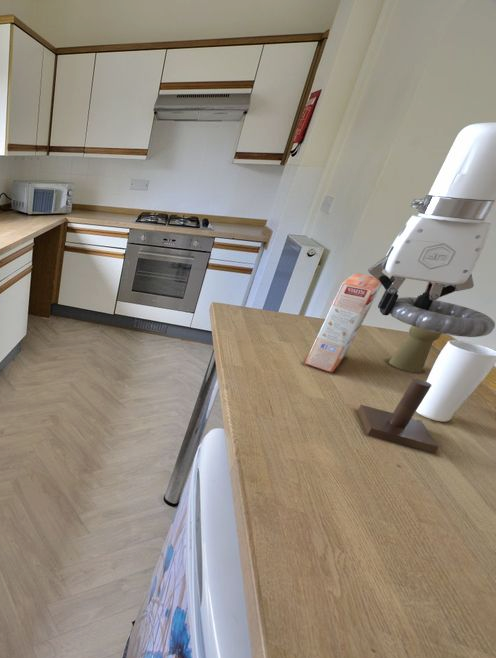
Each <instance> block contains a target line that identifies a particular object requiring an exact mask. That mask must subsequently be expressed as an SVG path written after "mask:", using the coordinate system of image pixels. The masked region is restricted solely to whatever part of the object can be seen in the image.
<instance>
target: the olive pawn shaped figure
mask: <svg viewBox="0 0 496 658" xmlns="http://www.w3.org/2000/svg"><path fill="white" fill-rule="evenodd" d="M408 329H409V330H408V334H409V336H408V337H407V338H406V339H405V340H404V342H403V343H402V344H401V345H400V347H399V348H398V349H397V351H396V352H395V353H394V354H393V356H391V358H390V360H389V361H388V363H389V365H391V366H392V367H395V368H397V369H400V370H402V371H405V372H409V373H416V374H417V373H422V372H423V370H424V366H425V364H426V361H427V359H428V356H429V353H430V350H431V348H432V346H433V343H434V342H435V341H437V340H438V339H439V338H440V337H441V335H442V333H437V332H433V331H429V330H425V329H421V328H418V327H415V326H412V325H410V327H409V328H408Z"/></svg>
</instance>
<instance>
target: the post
mask: <svg viewBox="0 0 496 658" xmlns="http://www.w3.org/2000/svg"><path fill="white" fill-rule="evenodd" d="M426 381H427V380H423V379H419V378H418V379H417V378H413V379H412V380H411V382H410V383H409V385H408V387H407V389H406V390H405V392H404V394H403V395H402V397H401V399H400V400H399V402H398V404H397V405H396V407H395V409H394V410H393V412H391V411H386V410H383V409H379V408H375V407H372V406H367V405H365V404H364V405H363V404H360V406H359V407H358V409H357V413H358V415H359V417H360V420H361V422H362V425H363V427H364V430H365V432H366V434H367V435H368V436H371V437H374V438H378V439H381V440H385V441H388V442H391V443H395V444H398V445H402V446H406V447H409V448H412V449H416V450H420V451H424V452H427V453H430V454H435V453H436V451H437V450H438V449H439V445H438V444H437V442H436V441H435V440H434V438H433V436H432V435H431V433H430V431H429V430H428V429H427V426H426V425H425V424H424V422H423V421H422V420H421V419H418V418H414V415H415V413H417V412H416V410H417V408H418V407H419V405H420V404H421V402H422V400H423V399H424V397H425V396H426V394H427V392H428V391H429V389H430V387H431V386H432V385H431V384H430V383H428V382H426Z"/></svg>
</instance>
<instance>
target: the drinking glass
mask: <svg viewBox="0 0 496 658" xmlns="http://www.w3.org/2000/svg"><path fill="white" fill-rule="evenodd" d="M434 361H435V362H434V364H433V365H432V367H431V370H430V372H429V374H428V376H427V378H426V380H425V381H426V382H428V383H430V384H431V385H432V386H431V387H430V389H429V391H428V392H427V394H426V396H425V397H424V399H423V400H422V402H421V404H420V405H419V407H418V408H417V410H416V412H415V413H417V414H418V415H420V416H421V417H425V418H426V419H428V420H432V421H435V422H443V423H445V422H449V421H451V420H452V419H453V417H454V415H455V414H456V413H457V411H458V410H459V409H460V408H461V407H462V405H463V404H464V403H465V402H466V401H467V399H469V397H471V395H472V394H473V393H474V391H475V390H476V389H477V388H478V387H479V386H480V384H481V383H482V382H483V381H484V380H485V379H486V377H488V375H489V373H490V372H491V371H492V369H493V368H494V367H495V365H496V350H495V349H492V348H490V347H488V346H485V345H481V344H478V343H474V342H470V341H465V340H458V339H452V340H447V342H446V344H445V345H444V347H443V348H442V349H441V351H440V352H439V354H438V355H437V357H436V359H435V360H434Z"/></svg>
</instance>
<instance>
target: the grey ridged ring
mask: <svg viewBox="0 0 496 658" xmlns="http://www.w3.org/2000/svg"><path fill="white" fill-rule="evenodd" d="M416 299H417V297H412V296H404V297H398V298H397V300H396V302H395V304H394V306H393V308H392V310H391V312H390V314H389V315H390V316H391V317H392V318H394V319H396V320H398V321H400V322H401V323H404V324H406V325H409V326H415V327H418V328H421V329H425V330H429V331H433V332H437V333H441V335H442V334H443V335H449V336H453V337H465V338H481V337H485V336H488V335H490V334H491V333H492V332H493V331H494V329H495V328H496V321H495V320H494V319H492V318H491V317H490V316H489V315H487V314H485V313H483V312H481V311H479V310H476V309H473V308H469V307H466V306H463V305H459V304H455V303H450V302H446V301H443V300H438V299H437V300H433V302H432V304H431V306H430V308H429V309H428V311H427V310H424V309H421V308H418V307H415V306H413V305H414V303H415V301H416Z"/></svg>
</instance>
